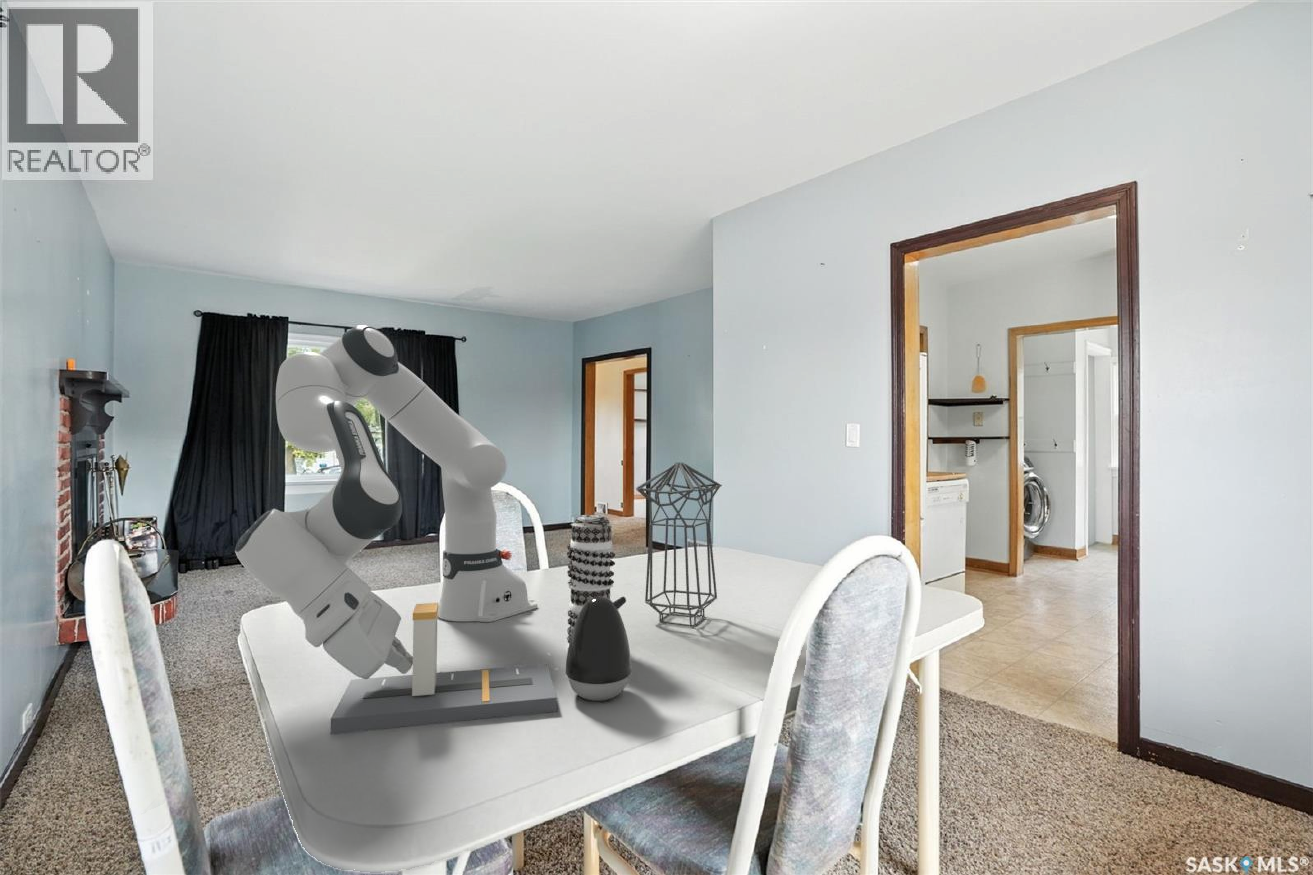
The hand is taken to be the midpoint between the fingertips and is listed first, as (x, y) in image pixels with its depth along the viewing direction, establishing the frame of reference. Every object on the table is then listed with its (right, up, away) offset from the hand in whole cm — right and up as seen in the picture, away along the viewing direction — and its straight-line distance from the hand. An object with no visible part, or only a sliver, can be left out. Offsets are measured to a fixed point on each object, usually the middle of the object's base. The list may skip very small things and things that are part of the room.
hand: (409, 667), depth 94 cm
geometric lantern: (+41, -7, +46) cm, 62 cm away
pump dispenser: (+28, -6, +5) cm, 29 cm away
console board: (+6, -6, +1) cm, 8 cm away
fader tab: (+2, -3, +1) cm, 4 cm away
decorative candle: (+24, -6, +27) cm, 37 cm away
